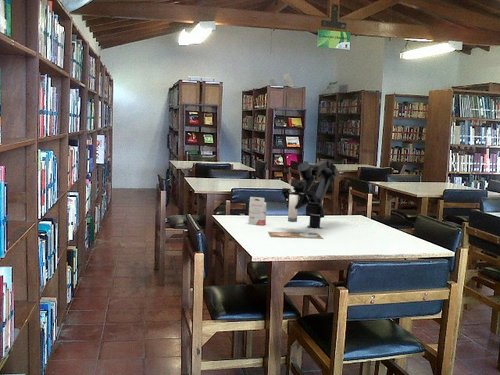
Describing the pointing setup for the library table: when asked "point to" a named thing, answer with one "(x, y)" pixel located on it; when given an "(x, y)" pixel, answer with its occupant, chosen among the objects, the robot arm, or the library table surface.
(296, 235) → the walnut board
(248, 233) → the library table surface
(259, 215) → the ink cartridge box
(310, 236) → the grey coaster
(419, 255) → the library table surface
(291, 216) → the frosted light bulb
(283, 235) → the terracotta coaster
